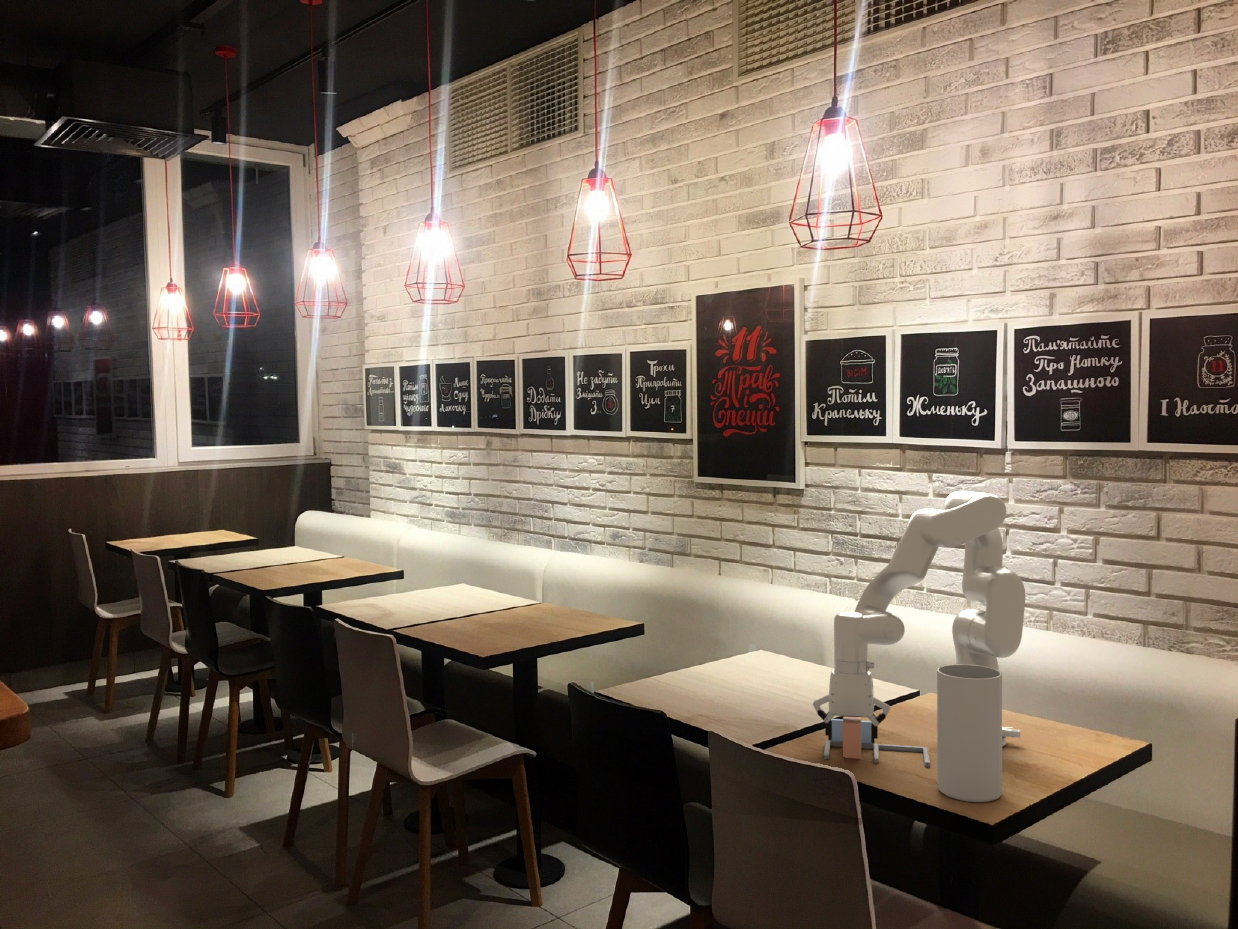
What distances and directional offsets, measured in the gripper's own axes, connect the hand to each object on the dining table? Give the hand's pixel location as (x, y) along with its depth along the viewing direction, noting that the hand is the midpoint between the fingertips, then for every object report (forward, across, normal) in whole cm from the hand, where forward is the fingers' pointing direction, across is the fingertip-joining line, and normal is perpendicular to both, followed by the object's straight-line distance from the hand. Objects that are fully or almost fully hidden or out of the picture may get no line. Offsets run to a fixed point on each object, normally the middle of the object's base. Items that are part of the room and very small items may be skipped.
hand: (851, 740), depth 223 cm
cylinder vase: (+4, -24, +19) cm, 31 cm away
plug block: (+3, 0, 0) cm, 3 cm away
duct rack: (+3, -6, 0) cm, 6 cm away
